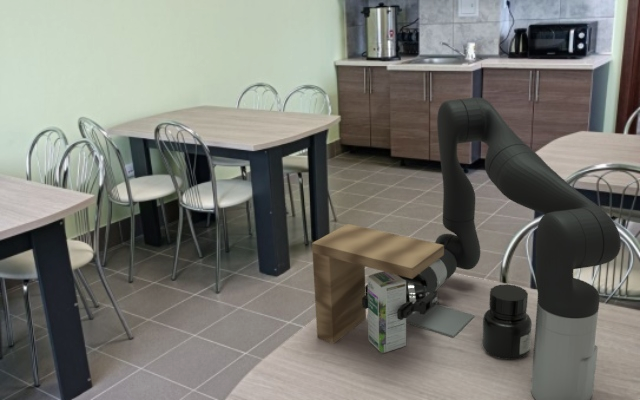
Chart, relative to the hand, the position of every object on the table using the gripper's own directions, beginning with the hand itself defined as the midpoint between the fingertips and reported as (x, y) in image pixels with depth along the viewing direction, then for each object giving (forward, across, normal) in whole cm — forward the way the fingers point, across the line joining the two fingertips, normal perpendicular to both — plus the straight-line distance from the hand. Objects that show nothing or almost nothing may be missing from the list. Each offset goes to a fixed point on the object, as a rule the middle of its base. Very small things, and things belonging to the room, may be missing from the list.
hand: (381, 309), depth 120 cm
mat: (-16, 0, +8) cm, 18 cm away
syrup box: (-2, 0, +9) cm, 9 cm away
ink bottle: (-13, +20, +9) cm, 25 cm away
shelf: (-2, -2, +8) cm, 9 cm away
